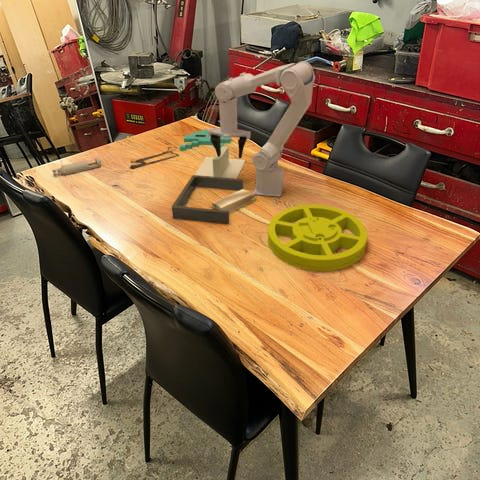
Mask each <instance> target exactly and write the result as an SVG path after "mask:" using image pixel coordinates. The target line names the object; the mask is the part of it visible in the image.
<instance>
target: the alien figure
mask: <svg viewBox="0 0 480 480" xmlns="http://www.w3.org/2000/svg"><path fill="white" fill-rule="evenodd" d="M209 129H210V128H206V129H205V128H204V129H202V130H198V131H197V132H191V134H185V136H184V138H183V142H184V143H185V144H180V145H179V151H180V152H185V151H186V150H192V148H198V147H199V146H213V148H215V147H214V145H213V144H212V142H211V140H210V138H211V136H208V130H209ZM231 138H232V137H223V136H221V137H220V147H222V146H226V147H228V148H229V145H224V144H231V143H232V140H231ZM186 142H192V143H186ZM230 142H231V143H230Z"/></svg>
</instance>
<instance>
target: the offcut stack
mask: <svg viewBox="0 0 480 480" xmlns="http://www.w3.org/2000/svg"><path fill="white" fill-rule="evenodd" d="M256 200H257V197H256V196H255V194H253V192H251V191H249V190H246V189H244V188H243V189H242V190H239V191H235V192H233V193H230V194H228V195H226V196H224V197H222V198H219V199H217V200H214V201H213V202H211V203H212V205H211V209H214V210H224V211H229V214H231V213H234V212H235V211H237V210H239V209H241V208H243V207H245V206H247V205H249V204H251V203H252V202H253V203H254V202H255V201H256Z"/></svg>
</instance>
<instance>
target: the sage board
mask: <svg viewBox="0 0 480 480" xmlns="http://www.w3.org/2000/svg"><path fill="white" fill-rule="evenodd" d="M226 146H227V145H224V146H222V147H221V155H220V157H218V156H217V153H216V154H215V155H214V156H213V157H214V158H213V159H212V160H213V177H221V175H222V174H223V172H224V171H225V169H226V168H227V166H228V165H229V159H230V157H229V156H230V153H229V152H230V151H229V146H228V147H226Z"/></svg>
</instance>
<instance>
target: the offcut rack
mask: <svg viewBox="0 0 480 480" xmlns="http://www.w3.org/2000/svg"><path fill="white" fill-rule="evenodd" d="M196 188H204V189H205V188H206V189H217V190H226V191H235V192H237V191H239V190H242V189H244V179H243V178H237V179H235V178H223V177H211V176H200V175H195V174H193V175H191V177H190V178H189V180H188V181H187V183H186V184H185V186H184V188H183V189H182V190H181V191H180V194H179V195H178V197H177V198H176V199H175V201H174V202H173V204H172V205H171V210H172V211H171V212H172V219H177V220H186V221H187V220H188V221H196V222H197V221H198V222H205V223H206V222H207V223H213V224H214V223H215V224H225V225H226V224H227V225H229V223H230V213H229V211H224V210H214V209H212V208H203V207H195V206H194V207H193V206H185V205H186V204H187V202H188V201H189V199H190V197H191V196H192V194H193V192H194V190H196Z"/></svg>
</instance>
